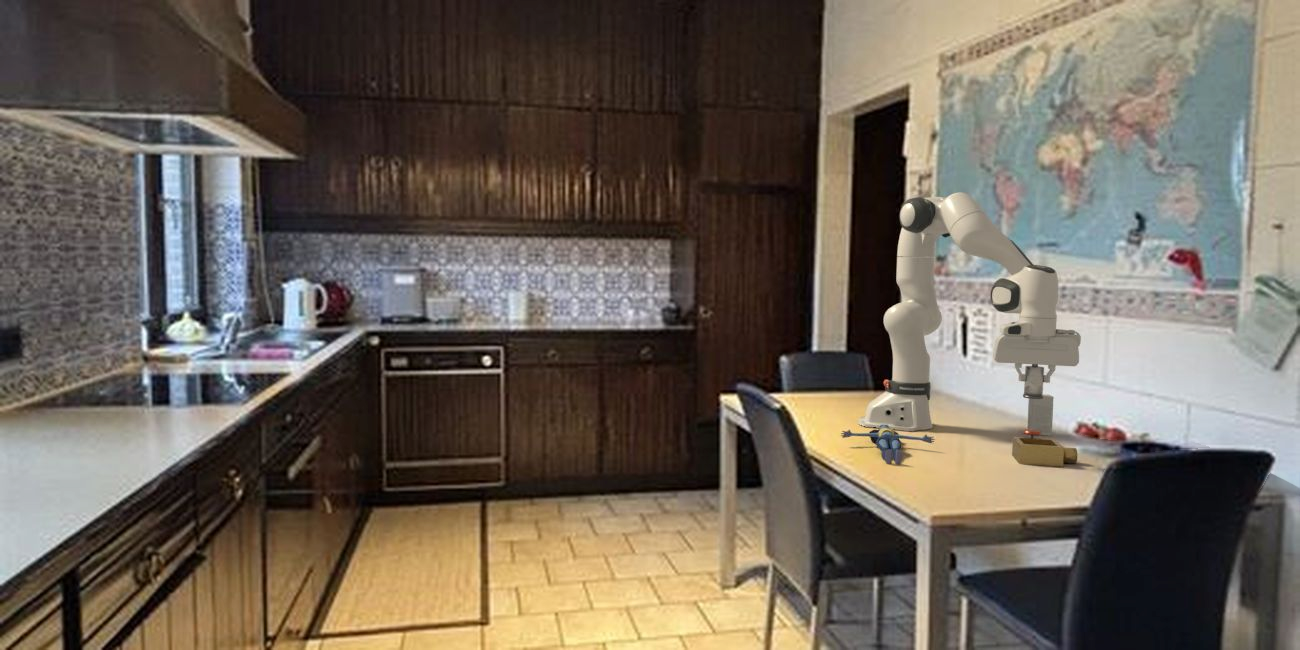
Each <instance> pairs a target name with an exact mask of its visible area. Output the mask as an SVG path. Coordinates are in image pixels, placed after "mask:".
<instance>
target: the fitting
mask: <svg viewBox="0 0 1300 650" xmlns="http://www.w3.org/2000/svg"><path fill="white" fill-rule="evenodd" d="M1022 431H1023V432H1022V434H1024V435H1026V436H1030V437H1023V436H1012V449H1011V456H1012V457H1013V458H1014V460H1015V461H1016V462H1017V463H1018V464H1019V465H1028V466H1030V465H1031V466H1042V467H1043V466H1045V467H1057V466H1060V468H1063V467H1064V464H1073V463H1074V465H1075V464H1077V462H1078V449H1077V447H1064V446H1063V445H1062V444H1061V443H1059V442H1058V441H1057V439H1055V438H1038V437H1039V436H1042V435H1041V431H1038V430H1030V429H1028V428H1027V429H1023V430H1022ZM1035 436H1037V437H1035Z"/></svg>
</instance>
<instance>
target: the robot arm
mask: <svg viewBox="0 0 1300 650" xmlns="http://www.w3.org/2000/svg"><path fill="white" fill-rule="evenodd" d="M898 216H899V217H898V218H899V219H898V220H899V223H900V226H901V229H900V233H899V239H898V244H897V254H896V273H895V274H896V276H895V277H896V278H895V279H896V284H897V286H898V287H899V292H900V294H901V300H902V302H899V303H896V304H894V305H892V306H891V307H889V308H888V309H887V310H886V311H885V313H884V315H883V325H884V329H885V331H886V332H887V333H888V335H889V339H890V345H891V350H892V351H891V352H892V378H891V380H889V379H884V381H883V386H884V389H885V391H884V392H883V393H881V394H880V395H878V396H877V397H875V398H874V399H872V400H871V401H870V402H869V403H868V404H867V407H866V408H865V414H864V415H865V416H861V417H859V418H858V420H857V421H858V422H857V423H858V425H859V424H860V426H861V425H862V426H861V427H864V426H865V427H866V428H873V427H876V428H875V429H879V427H880V425H883V424H884V425H888V426H889V428H890V429H892V430H894V429H895V430H894V431H906V432H915V431H920V430H921V431H924V430H930V429H932V428H933V423H932V418H931V411H930V398H931V388H932V387H931V382H930V368H931V356H930V354H929V353H928V351H927V346H926V342H925V336H930V335H931V334H932V333H934V332H936V330H938V329H939V328H940V326H941V323H942V320H943V316H942V313H941V310H940V309H939V307H938V302H937V296H936V291H935V290H936V289H935V280H934V279H935V278H934V276H935V247H936V246H935V244H936V241H937V239H938V238H939V237H940V236H942V237H943V238H949V237H951V238H952V241H953V242H954V244H956V246H957V247H958V248H959V249H960V251H962V252H964V253H965V254H967V255H970V256H974V257H978V258H980V259H981V258H982V259H986V260H989V261H992V262H994V263H997V264H999V265H1000V266H1002V267H1003V268H1005V270H1007V272H1008V273H1009V274H1010V275H1009V276H1006V277H1002V278H999V279H997V280H996V281H995V282H994V283H993V285H992V286H991V289H990V295H989V296H990V297H989V299H990V302H991V305H992V307H993V308H994V309H995V310H996V311H997V312H1000V313H1004V314H1019V315H1018V320H1017V321H1013V322H1009V323H1004V324H1002V325H1000V326H999V332H1000V334H999V335H997V337H996V339H995V343H994V347H993V354H992V358H993V360H994V361H995V362H996V363H999V364H1001V363H1002V364H1014V369H1015V370H1016V372H1017V374H1018V381H1019V382H1025V381H1026V379H1025V378H1026V375H1025V373H1022V371H1021V369H1022V367H1023V366H1022V365H1032V364H1036V365H1038V366H1041V365H1042V366H1047V369H1049V370H1048V372H1046V374H1044V379H1043V383H1048V384H1050V382H1051V376H1052V375H1053V374H1054V373H1055V371H1056V368H1057V367H1056V366H1063V367H1077V366H1078V364H1079V363H1080V350H1079V349H1080V348H1079V347H1080V345H1081V343H1082V342H1081V340H1082V339H1081V337H1082V336H1081V334H1080V333H1079V332H1077V331H1076V330H1074V329H1061V328H1060V329H1057V321H1058V320H1057V318H1058V317H1057V312H1056V310H1057V304H1058V302H1059V301H1058V300H1059V277H1058V274H1057V271H1056V270H1055V269H1054V268H1052V267H1050V266H1048V265H1047V266H1046V265H1040V264H1034V263H1032V261H1031V260H1030V259H1029V258H1028V256H1027V255H1026V254H1025V253H1024V252H1023V250H1022V249H1021V248H1020V247H1019V246H1018V245H1017V244H1016V243H1015V242H1014V241H1013V240H1011V239H1010V238H1009V237H1008V236H1007V235H1006V234H1004V233H1003V231H1002V230H1000V229H999V228H998V227H997V226H996V225H995V224H994V222H993V221H992V219H990V218H989V216H988V214H987V213H986V212H985V210H984V209H983V208H982V207H981V205H980V204H979V203H978V202H977V200H976V199H974V198H973V197H972V196H970V194H968V193H967V192H966V193H965V192H962V191H961V192H959V191H958V192H954V193H951V194H950V195H948V196H947V197H943V196H934V197H933V196H932V197H931V196H930V197H929V196H928V197H922V196H921V197H919V196H918V197H912V198H909V199H907V200H905V201H904V203H903V204H902V205H901V208H900V210H899V215H898Z"/></svg>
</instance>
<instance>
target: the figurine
mask: <svg viewBox="0 0 1300 650" xmlns="http://www.w3.org/2000/svg"><path fill="white" fill-rule="evenodd" d="M840 437H841V438H842V439H843V438H850V437H868V438H870V440H871V441H870V442H872V443H875V445H876V448H877V449H878V450H880V451H881V458H882V460H883V461H884V463H885V464H886V465H891V464H892V459H893V461H894V464H895V465H897V466H900V465H901V462H902V459H903V451H901V450H902V446H903V445H902V441H901V440H900V439H903V440H904V439H906V440H912V441H913V440H915V441H922V442H925V443H928V444H933V443H935V440H936V439H935V438H934V436H928V435H927V434H925V435H924V436H922V437H920V436H911V435H910V436H909V435H904V434H899V432H897V431H896V430H894V429H890V428H889V426H888V425H884V424H883V425H880V427H879V428H878V429H873V430H870V431H869V432H863V433H862V432H861V433H858V432H856V433H855V432H851V429H848V430H842V431H841V433H840Z"/></svg>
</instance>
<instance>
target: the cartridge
mask: <svg viewBox="0 0 1300 650" xmlns="http://www.w3.org/2000/svg"><path fill="white" fill-rule="evenodd" d="M1024 374H1025V375H1026V378H1025V379H1026V381H1024V383H1023V384H1024V389H1023V394H1022V398H1025V399H1028V400H1029V399H1043V395H1044V393H1043V391H1044V382H1043V379H1044V375H1045V366H1041V365H1036V364H1031V365H1025V371H1024Z"/></svg>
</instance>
